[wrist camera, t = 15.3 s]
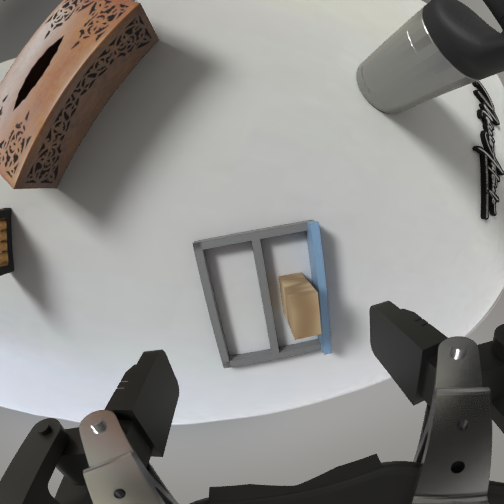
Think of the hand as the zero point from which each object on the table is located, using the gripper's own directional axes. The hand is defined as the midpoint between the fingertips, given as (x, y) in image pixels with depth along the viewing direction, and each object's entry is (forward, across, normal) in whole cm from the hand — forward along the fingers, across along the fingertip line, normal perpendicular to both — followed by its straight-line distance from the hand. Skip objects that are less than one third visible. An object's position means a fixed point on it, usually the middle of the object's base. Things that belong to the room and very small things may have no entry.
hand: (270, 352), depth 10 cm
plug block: (+26, -4, +8) cm, 27 cm away
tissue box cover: (+26, +21, -28) cm, 43 cm away
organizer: (+25, 0, +8) cm, 27 cm away
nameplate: (+27, -46, -9) cm, 54 cm away
